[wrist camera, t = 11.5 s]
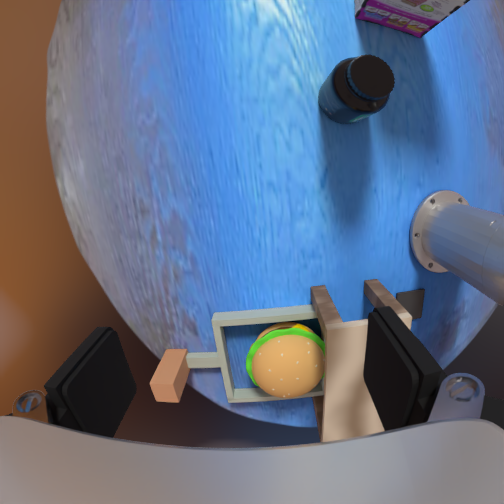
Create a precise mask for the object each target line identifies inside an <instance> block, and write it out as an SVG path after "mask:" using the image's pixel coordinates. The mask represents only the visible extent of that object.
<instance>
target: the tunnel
mask: <svg viewBox="0 0 504 504" xmlns="http://www.w3.org/2000/svg"><path fill="white" fill-rule="evenodd" d="M364 294H365V295H366V297H367V298H368V299H369V300H370V302H371V303H372V304H373V306H374V307H375V308H378V307H384V306H390V307H391V308H392V309H393V310H394V311H395V313H396V314H397V315H398V316H399V317H400V319H401V320H402V321H403V322H404V323H405V325H406V326H407V327H408V328H409V329H411V322H412V316H411V315H410V314H409V313H408V312H407V310H406V309H405V308H404V307H403V306H402V305H401V304H400V303H399V302H398V301H397V300H396V299H395V297H394V296H393V295H392V294H391V293H390V292H389V291H388V290H387V289H386V288H385V287H384V286H383V285H382V284H381V283H380V282H379V281H378V280H377V279H373V280H365V281H364ZM311 301H312V303H313V306H314V309H315V312H316V315H317V318H318V321H319V324H320V326H321V329H322V332H323V335H324V338H325V375H324V395H321V396H313V397H312V399H313V404H314V409H315V415H316V420H317V426H318V431H319V437H320V442H327V441H334V440H340V439H347V438H353V437H358V436H364V435H369V434H373V433H378V432H383V431H385V430H384V428H383V425H382V423H381V420H380V418H379V415H378V413H377V410H376V408H375V406H374V403H373V401H372V398H371V396H370V393H369V391H368V389H367V386H366V384H365V382H364V377H363V370H364V361H365V351H366V340H367V328H368V319H363V320H357V321H350V322H343V321H342V319H341V317H340V315H339V313H338V311H337V309H336V307H335V305H334V303H333V301H332V299H331V297H330V295H329V293H328V291H327V289H326V287H325V285H322V286H313V287H311Z"/></svg>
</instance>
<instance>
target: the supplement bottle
mask: <svg viewBox="0 0 504 504" xmlns="http://www.w3.org/2000/svg"><path fill="white" fill-rule="evenodd" d="M394 83H395V82H394V74H393V73H392V70H391V69H390V67H389V66H388V65H387V63H386V62H384V61H383V60H382V59H380V58H379V57H376V56H372V55H361V56H359V57H353V58H347V59H345V60H342V61H341V62H340V63H338V64H337V65H336V66H335V68H334V69H333V70H332V72H331V73H330V75H329V76H328V77H327V79H326V80H325V82H324V83H323V84H322V86H321V88H320V90H319V96H318V98H319V104H320V107H321V109H322V110H323V112H324V113H325V114H326V115H327V116H328V117H329V118H330V119H332V120H333V121H335V122H338V123H341V124H351V123H355V122H357V121H360V120H362V119H364V118H366V117H368V116H370V115H372V114H374V113H377V112H378V111H380V110H381V109H382V108H384V106H385V105H386V104H387V102H388V100H389V96H390V93H391V91H392V90H393V88H394Z"/></svg>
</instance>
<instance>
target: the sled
mask: <svg viewBox="0 0 504 504" xmlns="http://www.w3.org/2000/svg"><path fill="white" fill-rule="evenodd" d="M313 318H317V315H316V312H315V309H314V306H313V304H309V305H300V306H290V307H280V308H269V309H257V310H245V311H231V312H216V313H214V315H213V318H212V326H213V331H214V336H215V341H216V346H217V351H218V352H202V353H188V351H187V349H166V351H165V353H164V355H163V357H162V359H161V361H160V363H159V366H158V367H157V370H156V372H155V374H154V376H153V378H152V380H151V382H150V386H151V388H152V391H153V394H154V396H155V399H156V401H160V402H179V401H180V397H181V395H182V392H183V389H184V386H185V383H186V380H187V378H188V375H189V372H190V369H191V368H217V367H221V371H222V376H223V380H224V385H225V389H226V394H227V398H228V403H236V402H259V401H273V400H285V399H296V398H305V397H313V396H321V395H324V377H323V378H322V379H321V380H320V382H319V383H318V384H317V385H316V387H315V388H313V389H312V390H311V391H309V392H308V393H306V394H304V395H301V396H298V397H293V398H280V397H275V396H272V395H270V394H268V393H266V392H265V391H264V390H263V389H261V388H242V389H235V387H234V382H233V377H232V372H231V366H230V361H229V356H228V350H227V345H226V339H225V333H224V328H223V326H236V325H250V324H262V323H274V322H285V321H295V320H304V319H313ZM321 339H322V341H323V342H324V343H325V338H324V335H323V332H322V329H321Z"/></svg>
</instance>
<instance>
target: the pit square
mask: <svg viewBox="0 0 504 504" xmlns="http://www.w3.org/2000/svg"><path fill="white" fill-rule="evenodd" d="M424 292H425V289H419V290H413V291H407V292H400V293H397V295H396V300H397V301H398V302H399V303H400V304H401V305H402V306H403V307H404V308H405V309H406V310H407V312H408V313H409V314H410V315H411V316H412V319H417V318H421V316H422V308H423V300H424Z"/></svg>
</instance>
